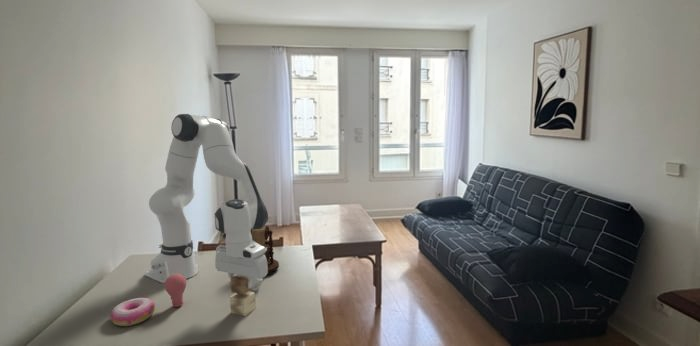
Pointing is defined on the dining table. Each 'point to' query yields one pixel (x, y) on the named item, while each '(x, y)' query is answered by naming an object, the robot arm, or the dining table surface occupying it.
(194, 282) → the dining table surface
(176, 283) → the light bulb
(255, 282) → the die
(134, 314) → the donut
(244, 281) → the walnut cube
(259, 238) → the scroll
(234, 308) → the oak cube
